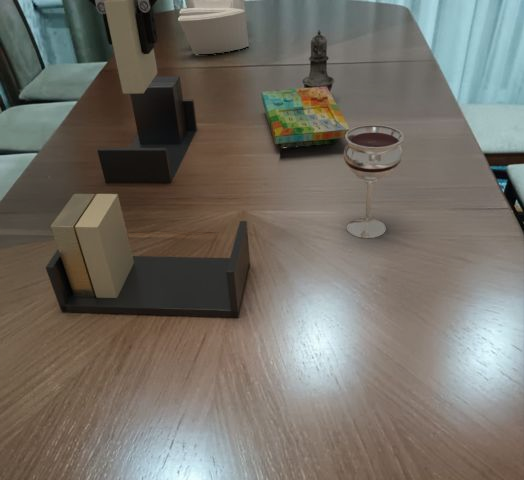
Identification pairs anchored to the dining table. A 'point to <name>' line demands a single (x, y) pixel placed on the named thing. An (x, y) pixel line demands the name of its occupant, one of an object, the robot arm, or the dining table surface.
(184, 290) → the black book holder
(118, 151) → the grey book rack
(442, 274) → the dining table surface
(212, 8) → the wavy white extrusion
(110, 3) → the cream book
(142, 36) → the robot arm
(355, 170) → the wineglass
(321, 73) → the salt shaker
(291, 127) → the puzzle game
